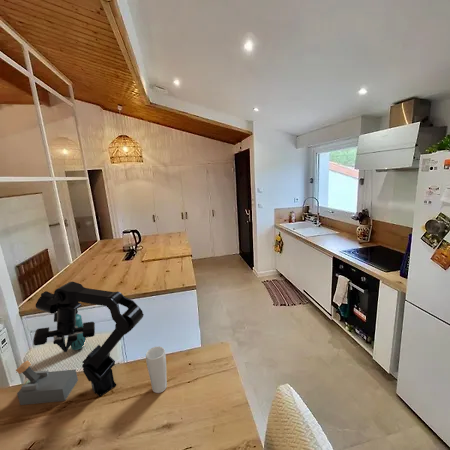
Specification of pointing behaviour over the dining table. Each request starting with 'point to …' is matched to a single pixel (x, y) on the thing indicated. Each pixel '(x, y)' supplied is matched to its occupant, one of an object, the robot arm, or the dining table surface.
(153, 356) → the drinking glass
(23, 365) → the lever
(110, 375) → the robot arm
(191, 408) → the dining table surface
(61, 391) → the base
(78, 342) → the beverage bottle
